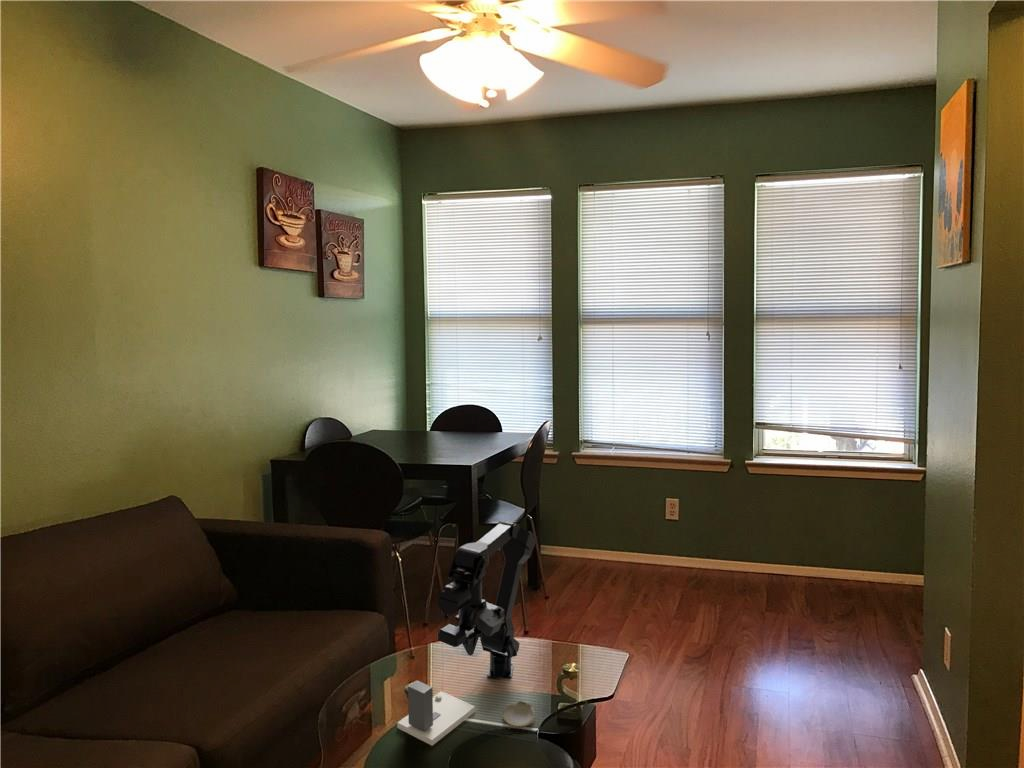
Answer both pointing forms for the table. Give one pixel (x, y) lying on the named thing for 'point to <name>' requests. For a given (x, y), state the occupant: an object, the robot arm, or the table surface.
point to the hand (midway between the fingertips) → (470, 654)
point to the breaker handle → (420, 705)
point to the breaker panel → (440, 718)
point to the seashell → (519, 714)
